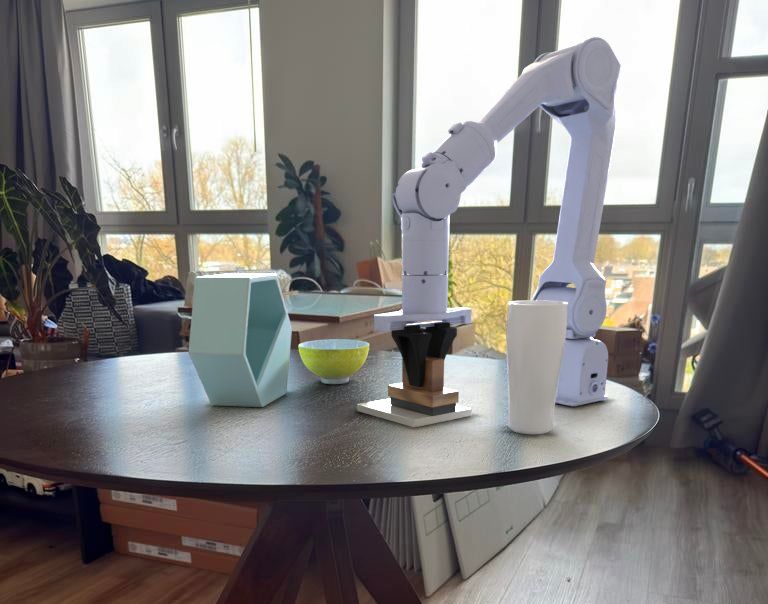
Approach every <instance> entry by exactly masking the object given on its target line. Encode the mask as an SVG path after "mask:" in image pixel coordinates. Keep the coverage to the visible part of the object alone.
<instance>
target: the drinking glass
mask: <svg viewBox="0 0 768 604" xmlns="http://www.w3.org/2000/svg"><path fill="white" fill-rule="evenodd" d="M567 305H568V304H567V303H566V302H563V301H550V300H532V299H527V300H525V299H523V300H522V299H521V300H512V301H509V302H508V306H507V319H506V337H505V338H506V344H505V345H506V366H507V367H506V371H507V405H508V407H507V408H508V410H507V414H508V415H507V427H508V429H509V430H510V431H511V432H514V433H517V434H520V435H521V434H522V435H544V434H547V433H549V432H550V431H552V429H553V426H554V414H555V407H556V403H555V401H556V395H557V389H558V382H559V376H560V370H561V364H562V358H563V352H564V346H565V338H566V328H567Z"/></svg>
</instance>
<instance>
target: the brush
mask: <svg viewBox="0 0 768 604" xmlns="http://www.w3.org/2000/svg"><path fill="white" fill-rule="evenodd" d="M401 370H402V371H401V372H402V373H401V376H402V377H401V382H399V383H393V384H388V385H387V397H389V399H390V405H392V406H396V407H400V408H404V409H407V410H411V411H415V412H418V413H422V414H426V415H430V416H436V415H441V414H446V413H451V412H456V405H457V404H458V403H459V400H460V398H459V397H460V391H459V390H456V389H451V388H448V387H447V388H446V387H444V386H445V360H444V359H441V358H436V357H430V356H426V361H425V378H424V384H423V387H416V386H412V385H409V380H408V376H407V372H406V368H405V364H404V361H403V358H402V357H401Z"/></svg>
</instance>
